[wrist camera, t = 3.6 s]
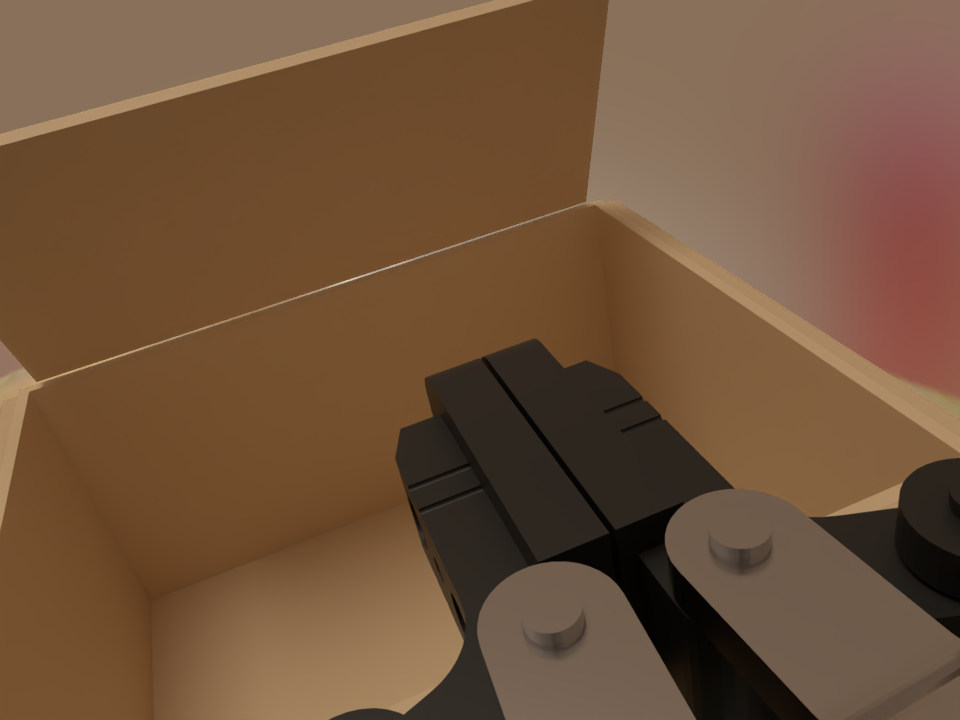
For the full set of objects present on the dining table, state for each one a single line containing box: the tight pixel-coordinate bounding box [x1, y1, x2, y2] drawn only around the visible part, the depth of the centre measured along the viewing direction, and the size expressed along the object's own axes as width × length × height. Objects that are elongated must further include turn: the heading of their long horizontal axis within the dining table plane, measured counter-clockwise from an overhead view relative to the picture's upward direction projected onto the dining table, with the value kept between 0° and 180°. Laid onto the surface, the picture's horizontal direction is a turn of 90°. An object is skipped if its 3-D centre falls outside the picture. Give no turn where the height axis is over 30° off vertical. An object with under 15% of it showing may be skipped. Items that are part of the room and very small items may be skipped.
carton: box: [0, 200, 960, 720], centre depth 28 cm, size 25×20×12 cm
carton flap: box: [0, 0, 609, 382], centre depth 29 cm, size 22×10×1 cm
